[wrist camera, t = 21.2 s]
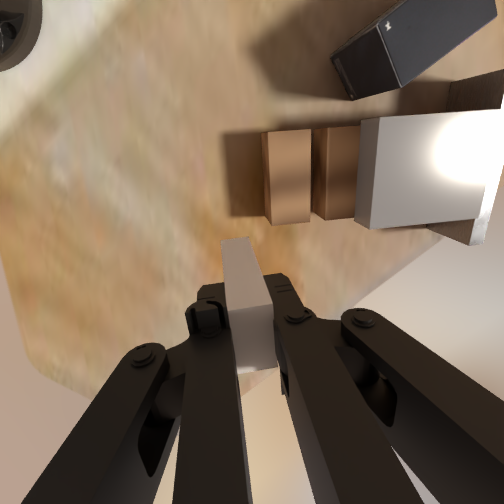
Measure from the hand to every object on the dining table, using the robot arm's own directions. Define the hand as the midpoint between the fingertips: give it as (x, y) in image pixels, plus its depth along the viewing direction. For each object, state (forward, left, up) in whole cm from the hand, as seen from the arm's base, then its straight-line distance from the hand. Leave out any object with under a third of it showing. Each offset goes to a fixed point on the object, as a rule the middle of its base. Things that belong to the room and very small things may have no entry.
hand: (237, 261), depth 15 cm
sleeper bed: (-1, +15, -25) cm, 29 cm away
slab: (-1, +23, -20) cm, 31 cm away
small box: (-15, +20, -25) cm, 36 cm away
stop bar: (-1, +32, -25) cm, 41 cm away
